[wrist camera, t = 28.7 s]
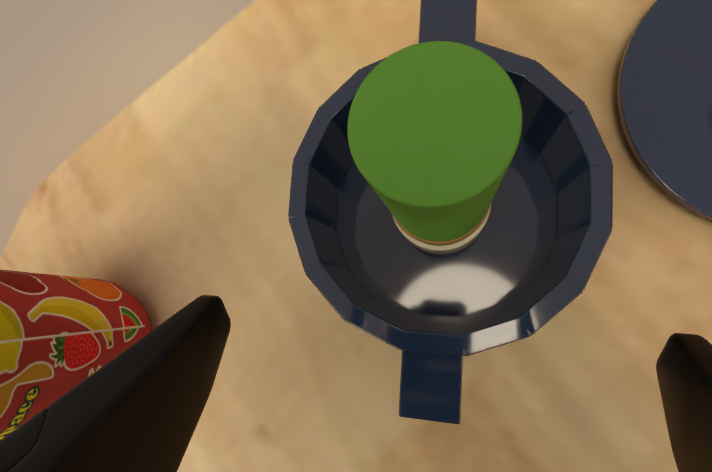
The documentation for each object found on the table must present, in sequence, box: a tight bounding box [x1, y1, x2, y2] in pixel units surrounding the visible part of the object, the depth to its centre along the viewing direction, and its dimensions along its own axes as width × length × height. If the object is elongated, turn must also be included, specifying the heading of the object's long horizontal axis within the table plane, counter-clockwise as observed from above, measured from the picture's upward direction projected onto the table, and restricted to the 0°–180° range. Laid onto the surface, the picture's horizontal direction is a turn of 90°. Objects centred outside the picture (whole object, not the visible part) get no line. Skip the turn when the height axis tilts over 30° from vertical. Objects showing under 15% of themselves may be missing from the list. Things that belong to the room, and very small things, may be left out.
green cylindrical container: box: [347, 41, 522, 255], centre depth 16 cm, size 4×4×12 cm
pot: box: [288, 0, 613, 424], centre depth 20 cm, size 13×18×6 cm
